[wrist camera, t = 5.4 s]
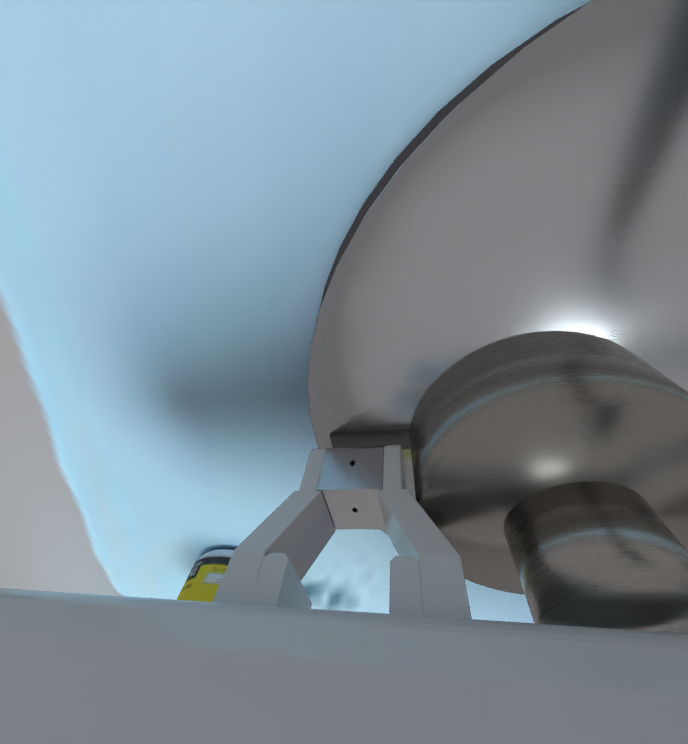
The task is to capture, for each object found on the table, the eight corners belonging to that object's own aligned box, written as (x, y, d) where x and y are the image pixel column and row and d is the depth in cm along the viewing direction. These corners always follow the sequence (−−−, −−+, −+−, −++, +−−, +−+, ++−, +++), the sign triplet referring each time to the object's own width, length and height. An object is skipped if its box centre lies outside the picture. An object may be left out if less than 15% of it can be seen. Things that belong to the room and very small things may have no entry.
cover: (699, 313, 7) (1125, 499, 3) (622, 501, 11) (773, 706, 7) (399, 349, 9) (415, 515, 4) (417, 506, 12) (435, 680, 8)
